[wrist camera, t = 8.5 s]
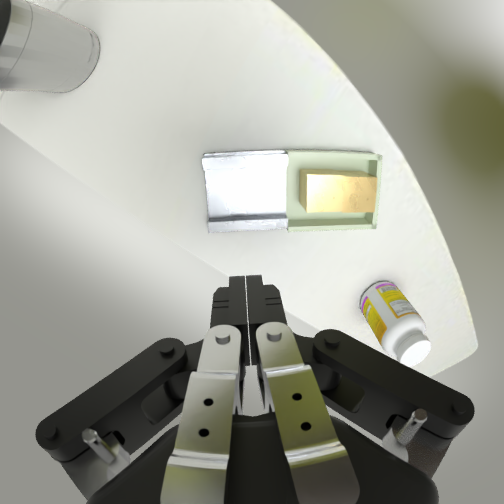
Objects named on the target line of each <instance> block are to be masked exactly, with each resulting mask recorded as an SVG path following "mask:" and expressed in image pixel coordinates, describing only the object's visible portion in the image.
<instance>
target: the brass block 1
mask: <svg viewBox="0 0 504 504" xmlns="http://www.w3.org/2000/svg"><path fill="white" fill-rule="evenodd" d="M343 192H344V175H343V174H341V173H339V172H337V171H335V170H334V169H300V181H299V202H300V204H301V205H302V207H303V208H304V209H305V211H306V212H342V208H343Z"/></svg>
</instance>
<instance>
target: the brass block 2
mask: <svg viewBox="0 0 504 504" xmlns="http://www.w3.org/2000/svg"><path fill="white" fill-rule="evenodd" d="M335 171H337V172H339V173H341V174H343V175H344V192H343V208H342V213H357V212H375V203H376V192H377V179H378V178H377V177H375V176H373V175H371V174H369V173H366V172H364V171H348V170H335Z"/></svg>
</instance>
